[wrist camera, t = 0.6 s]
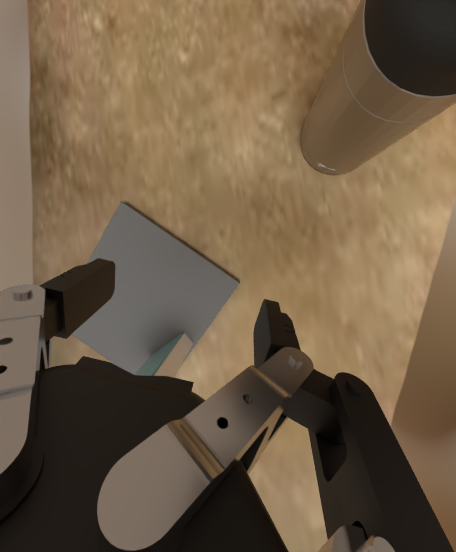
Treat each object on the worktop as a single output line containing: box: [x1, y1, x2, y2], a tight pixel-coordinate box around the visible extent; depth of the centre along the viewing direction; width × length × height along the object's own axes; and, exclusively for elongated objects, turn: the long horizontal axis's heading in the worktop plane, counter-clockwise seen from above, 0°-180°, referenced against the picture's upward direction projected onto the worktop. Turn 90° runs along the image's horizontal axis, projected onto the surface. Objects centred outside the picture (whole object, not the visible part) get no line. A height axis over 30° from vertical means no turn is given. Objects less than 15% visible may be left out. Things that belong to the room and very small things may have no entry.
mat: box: [71, 202, 240, 375], centre depth 35 cm, size 22×20×1 cm
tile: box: [135, 333, 193, 378], centre depth 29 cm, size 2×7×14 cm, turn 128°
